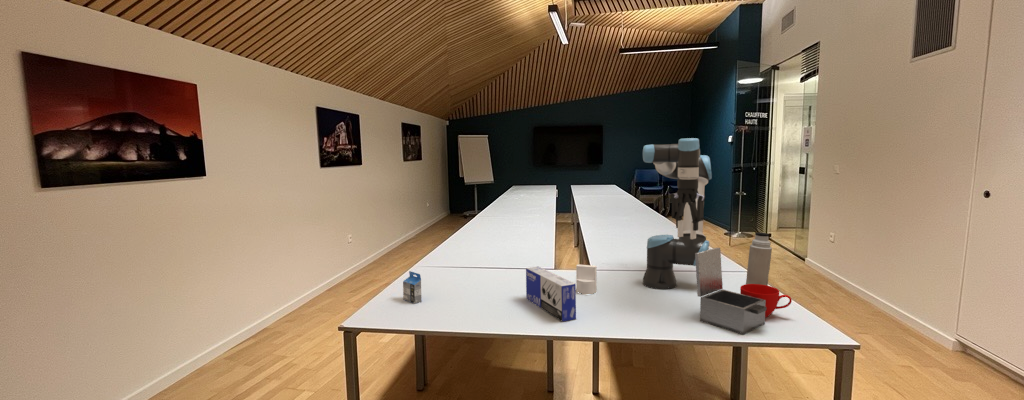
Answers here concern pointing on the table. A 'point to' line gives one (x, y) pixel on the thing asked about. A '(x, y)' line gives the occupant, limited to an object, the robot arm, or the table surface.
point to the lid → (708, 271)
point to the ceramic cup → (765, 296)
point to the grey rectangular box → (732, 311)
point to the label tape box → (412, 288)
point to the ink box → (551, 293)
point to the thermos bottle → (759, 260)
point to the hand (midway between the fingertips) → (686, 237)
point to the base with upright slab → (586, 279)
